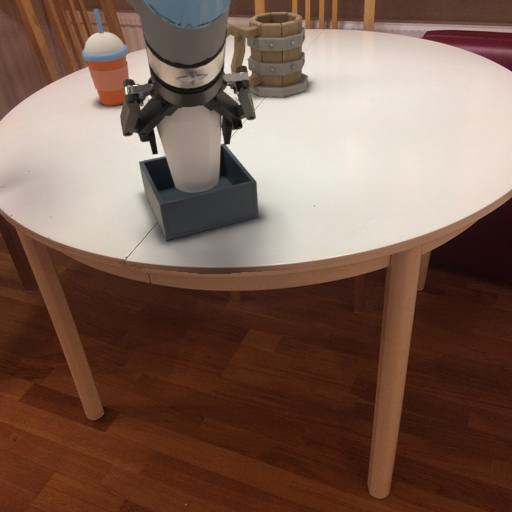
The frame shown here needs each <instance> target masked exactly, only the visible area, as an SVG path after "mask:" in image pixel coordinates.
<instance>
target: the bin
mask: <svg viewBox="0 0 512 512" xmlns="http://www.w3.org/2000/svg"><path fill="white" fill-rule="evenodd" d="M138 165H139V169H140V175H141V180H142V184H143V185H142V186H143V190H144V194H145V197H146V199H147V201H148V203H149V206H150V208H151V210H152V212H153V215H154V217H155V219H156V222H157V223H158V225H159V228H160V230H161V233H162V234H163V236H164V239H165V241H171V240H174V239H178V238H183V237H186V236H190V235H194V234H198V233H201V232H205V231H210V230H213V229H218V228H221V227H225V226H228V225H233V224H236V223H241V222H244V221H248V220H253V219H257V218H259V203H258V201H259V200H258V185H257V184H258V183H257V180H256V179H255V178H254V176H252V174H251V173H250V172H249V171H248V169H247V168H246V167H245V166H244V164H243V163H242V162H241V161H240V160H239V159H238V158H237V156H236V155H235V154H234V153H233V151H232V150H231V149H230V148H229V146H228V145H224V143H221V148H220V173H219V181H218V183H217V185H216V186H214V187H213V188H211V189H209V190H206V191H203V192H194V193H189V192H184V191H181V190H179V189H177V188H176V187H175V184H174V181H173V178H172V175H171V172H170V169H169V165H168V162H167V159H166V156H165V155H164V156H160V157H154V158H149V159H145V160H140V161H138Z"/></svg>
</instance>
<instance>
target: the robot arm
mask: <svg viewBox="0 0 512 512" xmlns="http://www.w3.org/2000/svg"><path fill="white" fill-rule="evenodd" d="M231 1H232V0H126V2H127V3H128V4H129V5H130V6H131V7H132V8H133V9H134V10H135V12H136V13H137V14H138V16H139V19H140V24H141V31H142V35H143V41H144V46H145V51H146V57H147V63H148V67H149V74H150V76H149V78H148V80H147V83H136V82H135V80H134V79H132V78H129V79H126V80H124V81H123V86H124V92H125V98H124V103H123V104H122V107H121V111H120V115H119V118H120V124H121V131H122V136H123V137H125V138H126V137H127V138H128V137H131V136H133V135H134V134H137V136H138V137H139V141H140V142H141V143H147V142H149V145H150V150H151V154H152V155H158V154H159V151H158V143H157V138H156V133H155V128H157V127H156V126H157V125H158V124H159V123H160V122H161V121H162V120H163V119H164V118H165V117H166V116H171V115H172V114H173V113H174V112H175V111H176V110H177V109H178V108H179V109H180V108H182V107H196V106H199V105H200V106H202V105H203V106H204V107H206V108H207V109H208V110H210V111H212V110H215V111H216V112H217V113H219V114H220V115H222V123H221V134H222V138H223V144H224V145H226V146H228V145H231V139H232V133H233V131H237V130H238V131H239V130H241V129H243V127H244V126H243V121H242V120H244V119H246V120H247V121H254V120H255V119H257V114H256V110H255V104H254V99H253V96H252V94H251V93H252V92H251V91H250V89H251V86H250V81H249V76H250V75H249V71H248V70H249V69H248V66H247V65H242V66H239V67H237V69H236V72H232V73H231V72H230V73H226V72H225V71H224V70H225V59H226V50H227V49H226V47H227V38H228V37H227V23H229V13H230V8H231ZM226 37H227V38H226ZM228 87H229V88H230V90H233V94H234V95H237V99H238V102H237V101H236V100H235V99H234V98H232V96H230V95H229V94H228V93H227V92H226V91H225V90H226V88H228ZM149 95H150V96H151V97H152V98H151V99H150V100H149V101H148V100H147V102H146V104H145V103H144V101H146V99H147V98H148V97H147V96H149ZM141 107H142V108H141Z"/></svg>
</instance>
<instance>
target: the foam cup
mask: <svg viewBox="0 0 512 512" xmlns="http://www.w3.org/2000/svg"><path fill="white" fill-rule="evenodd" d="M146 98H147V102H148V101H149V100H150V99H151V98H152V97H151V96H150V95H149V96H147V97H146ZM221 125H222V115H220V114H219V113H217V112H216V111H215V110H212V111H210V110H208V109H207V108H206V107H204V106H203V105H202V106H200V105H199V106H196V107H182V108H180V109H179V108H178V109H177V110H176V111H175V112H174V113H173V114H172V115H171V116H166V117H165V118H164V119H163V120H162V121H161V122H160V123H159V124H158V125H157V126H156V127H155V128H156V130H157V133H158V136H159V140H160V143H161V146H162V149H163V152H164V156H166V159H167V162H168V165H169V169H170V172H171V175H172V178H173V181H174V184H175V187H176V188H177V189H179V190H181V191H184V192H189V193H194V192H203V191H206V190H209V189H211V188H213V187H214V186H216V185H217V183H218V181H219V173H220V148H221V144H222V128H221Z"/></svg>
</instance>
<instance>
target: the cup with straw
mask: <svg viewBox="0 0 512 512" xmlns="http://www.w3.org/2000/svg"><path fill="white" fill-rule="evenodd" d="M93 12H94V17H95V21H96V27H97V31H98V32H96V33H93V34H92V35H90V36H89V37H88V38H87V40H86V42H85V43H84V48H83V49H82V51H81V56H82V58H83V60H85V61H86V62H87V66H88V70H89V73H90V77H91V80H92V82H93V85H94V88H95V90H96V92H97V95H98V97H99V101H100V103H101V104H102V105H105V106H118V105H123V103H124V98H125V92H124V86H123V81H124V80H126V79H130V73H129V64H128V61H127V55H128V54H129V48H128V45H126V44H125V43H123V41H122V39H121V38H120V37H118V36H117V35H116V34H115V33H113V32H108V31H104V29H103V24H102V20H101V14H100V9H99V8H94V9H93Z"/></svg>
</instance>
